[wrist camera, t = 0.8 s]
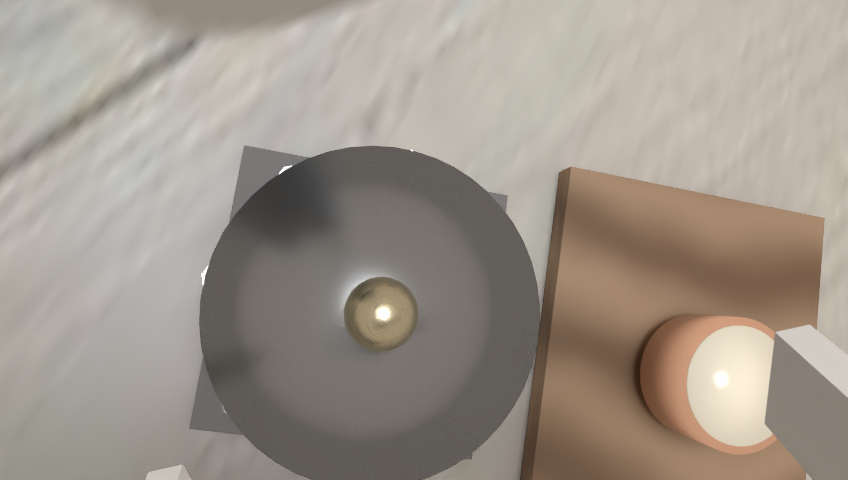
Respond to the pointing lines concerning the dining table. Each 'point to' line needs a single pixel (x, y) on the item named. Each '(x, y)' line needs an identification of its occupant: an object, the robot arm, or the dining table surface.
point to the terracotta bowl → (711, 380)
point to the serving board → (653, 320)
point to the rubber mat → (252, 177)
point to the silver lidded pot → (369, 316)
